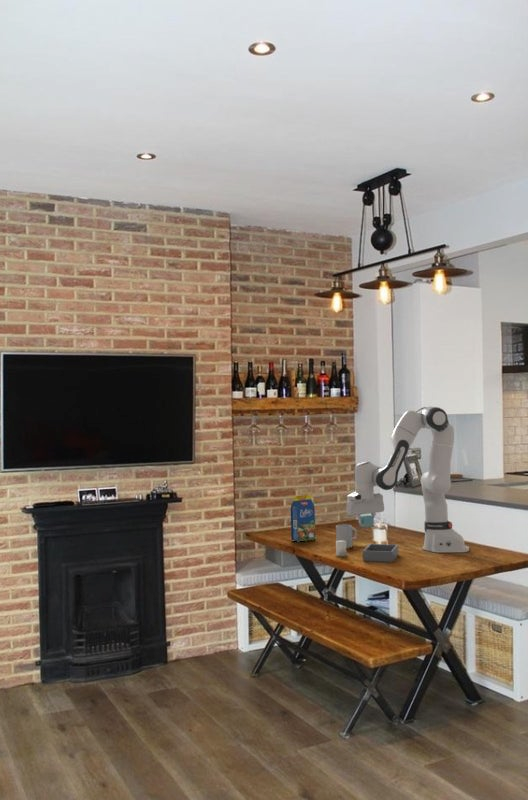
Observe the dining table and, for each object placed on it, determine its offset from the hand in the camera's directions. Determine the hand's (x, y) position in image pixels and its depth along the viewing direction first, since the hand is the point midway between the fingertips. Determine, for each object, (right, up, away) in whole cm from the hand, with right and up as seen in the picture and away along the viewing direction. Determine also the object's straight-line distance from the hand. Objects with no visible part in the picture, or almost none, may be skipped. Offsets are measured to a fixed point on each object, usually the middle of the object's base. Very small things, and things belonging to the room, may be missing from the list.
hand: (366, 522), depth 366 cm
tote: (+5, -15, -12) cm, 20 cm away
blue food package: (-29, -17, +40) cm, 52 cm away
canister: (-13, -16, -3) cm, 20 cm away
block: (0, -2, 0) cm, 2 cm away
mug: (-7, -16, +21) cm, 27 cm away
